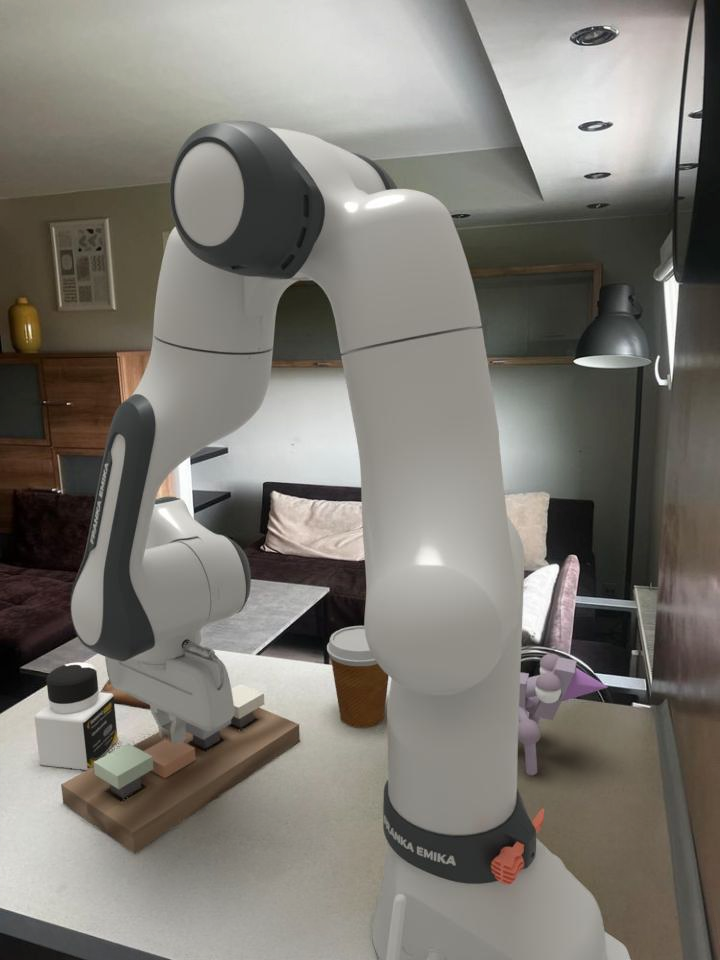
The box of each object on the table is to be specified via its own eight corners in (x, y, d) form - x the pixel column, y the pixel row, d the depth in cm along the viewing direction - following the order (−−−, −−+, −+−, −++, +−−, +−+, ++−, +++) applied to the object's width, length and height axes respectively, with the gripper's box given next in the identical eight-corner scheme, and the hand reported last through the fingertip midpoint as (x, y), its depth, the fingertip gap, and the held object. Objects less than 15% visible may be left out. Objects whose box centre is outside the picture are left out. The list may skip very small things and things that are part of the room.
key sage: (154, 786, 81) (152, 756, 80) (120, 807, 77) (117, 776, 77) (131, 772, 84) (128, 743, 83) (96, 791, 80) (93, 762, 79)
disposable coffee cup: (315, 715, 100) (312, 637, 98) (364, 693, 106) (362, 619, 104) (360, 742, 93) (358, 659, 91) (409, 716, 100) (408, 637, 97)
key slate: (232, 739, 90) (230, 712, 89) (204, 755, 87) (202, 728, 86) (208, 727, 93) (206, 701, 92) (180, 743, 89) (178, 716, 89)
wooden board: (299, 741, 94) (299, 724, 93) (134, 853, 74) (132, 832, 73) (229, 710, 102) (228, 694, 102) (63, 803, 82) (61, 784, 82)
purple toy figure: (605, 744, 92) (610, 650, 88) (601, 797, 82) (607, 694, 79) (456, 718, 99) (456, 630, 95) (437, 763, 89) (435, 667, 86)
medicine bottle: (88, 771, 88) (79, 684, 86) (39, 766, 90) (28, 679, 87) (119, 740, 95) (111, 658, 93) (72, 735, 96) (63, 655, 94)
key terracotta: (196, 775, 86) (194, 748, 85) (166, 795, 82) (163, 766, 82) (173, 763, 89) (170, 735, 88) (142, 781, 85) (139, 753, 84)
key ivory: (265, 719, 95) (263, 693, 94) (240, 734, 91) (238, 707, 91) (241, 708, 98) (240, 683, 97) (216, 723, 94) (214, 697, 93)
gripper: (242, 642, 78) (251, 754, 81) (135, 607, 91) (146, 704, 93) (197, 663, 73) (208, 782, 76) (91, 623, 86) (103, 725, 88)
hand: (173, 739), depth 85 cm, fingers closed
